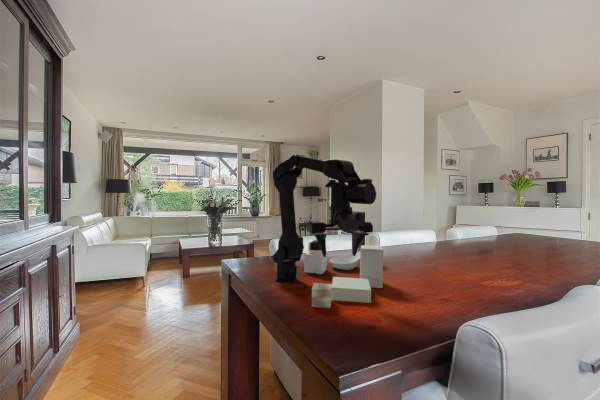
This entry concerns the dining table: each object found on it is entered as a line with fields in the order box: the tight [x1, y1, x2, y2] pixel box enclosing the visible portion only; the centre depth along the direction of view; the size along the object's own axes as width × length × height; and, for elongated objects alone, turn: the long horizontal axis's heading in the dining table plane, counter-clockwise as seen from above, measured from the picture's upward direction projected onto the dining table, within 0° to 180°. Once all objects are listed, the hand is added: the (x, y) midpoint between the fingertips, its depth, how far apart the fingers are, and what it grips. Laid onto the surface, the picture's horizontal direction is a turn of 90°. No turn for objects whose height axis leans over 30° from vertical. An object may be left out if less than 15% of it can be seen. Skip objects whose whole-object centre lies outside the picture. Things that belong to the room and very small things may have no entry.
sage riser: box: [331, 276, 372, 304], centre depth 89 cm, size 11×11×4 cm
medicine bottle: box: [303, 239, 328, 275], centre depth 115 cm, size 7×7×12 cm
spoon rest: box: [329, 250, 385, 271], centre depth 123 cm, size 24×12×7 cm, turn 109°
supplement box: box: [359, 244, 384, 289], centre depth 100 cm, size 7×7×13 cm
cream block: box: [311, 282, 332, 309], centre depth 81 cm, size 5×5×5 cm
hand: (339, 256), depth 87 cm, fingers open, 9 cm apart
